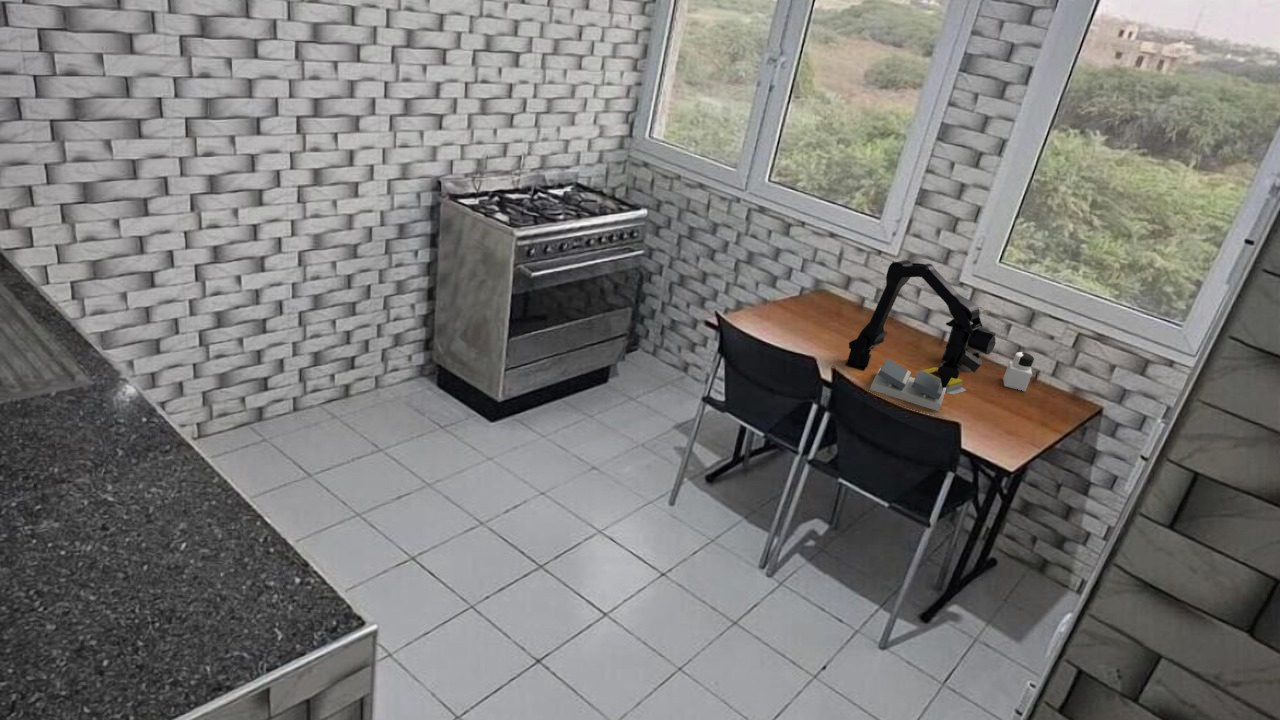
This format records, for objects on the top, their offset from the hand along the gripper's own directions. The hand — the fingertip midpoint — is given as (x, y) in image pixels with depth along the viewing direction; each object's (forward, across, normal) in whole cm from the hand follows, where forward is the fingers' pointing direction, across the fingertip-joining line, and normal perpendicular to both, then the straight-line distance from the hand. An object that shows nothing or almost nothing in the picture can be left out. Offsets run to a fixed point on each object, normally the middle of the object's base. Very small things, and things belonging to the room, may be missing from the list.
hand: (943, 387), depth 268 cm
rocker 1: (0, 0, +16) cm, 16 cm away
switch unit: (+6, +1, +10) cm, 12 cm away
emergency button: (+6, +18, +1) cm, 19 cm away
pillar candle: (+6, +40, -3) cm, 40 cm away
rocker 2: (0, 0, +5) cm, 5 cm away
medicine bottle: (+6, +36, -22) cm, 43 cm away
